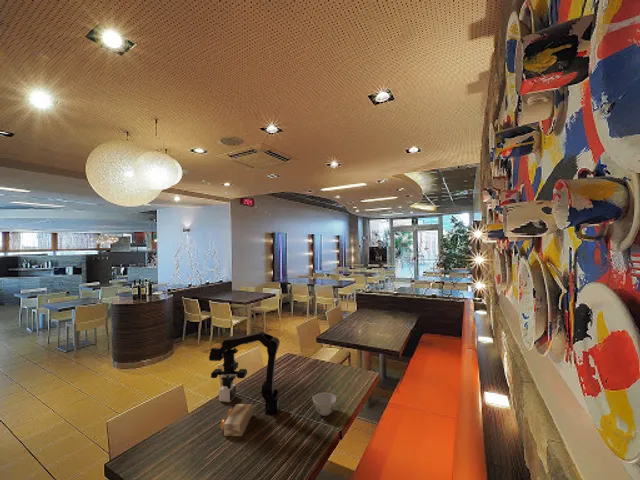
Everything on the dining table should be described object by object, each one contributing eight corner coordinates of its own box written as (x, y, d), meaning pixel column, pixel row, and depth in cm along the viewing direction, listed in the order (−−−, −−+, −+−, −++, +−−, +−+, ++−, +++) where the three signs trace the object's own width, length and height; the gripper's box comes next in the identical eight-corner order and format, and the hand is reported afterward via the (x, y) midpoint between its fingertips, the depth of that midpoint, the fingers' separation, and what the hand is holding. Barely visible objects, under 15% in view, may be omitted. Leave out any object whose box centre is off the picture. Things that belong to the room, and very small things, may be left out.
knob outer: (243, 426, 141) (243, 417, 141) (240, 432, 137) (240, 422, 137) (224, 425, 142) (223, 417, 142) (220, 431, 138) (220, 422, 138)
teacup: (341, 411, 153) (340, 396, 153) (326, 423, 144) (326, 407, 144) (319, 402, 163) (319, 388, 163) (305, 412, 153) (304, 397, 153)
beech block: (252, 414, 152) (252, 404, 152) (241, 436, 135) (241, 424, 135) (236, 414, 153) (236, 404, 153) (223, 435, 136) (223, 424, 136)
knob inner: (249, 415, 150) (248, 407, 150) (246, 420, 146) (246, 411, 146) (230, 415, 151) (230, 406, 151) (227, 420, 146) (227, 411, 147)
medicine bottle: (230, 402, 164) (229, 381, 165) (219, 401, 166) (218, 380, 166) (236, 396, 171) (235, 376, 172) (225, 395, 173) (225, 375, 173)
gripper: (250, 355, 164) (250, 381, 164) (218, 354, 165) (219, 381, 165) (243, 363, 153) (244, 391, 153) (210, 362, 154) (210, 391, 154)
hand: (229, 388), depth 157 cm, fingers closed
